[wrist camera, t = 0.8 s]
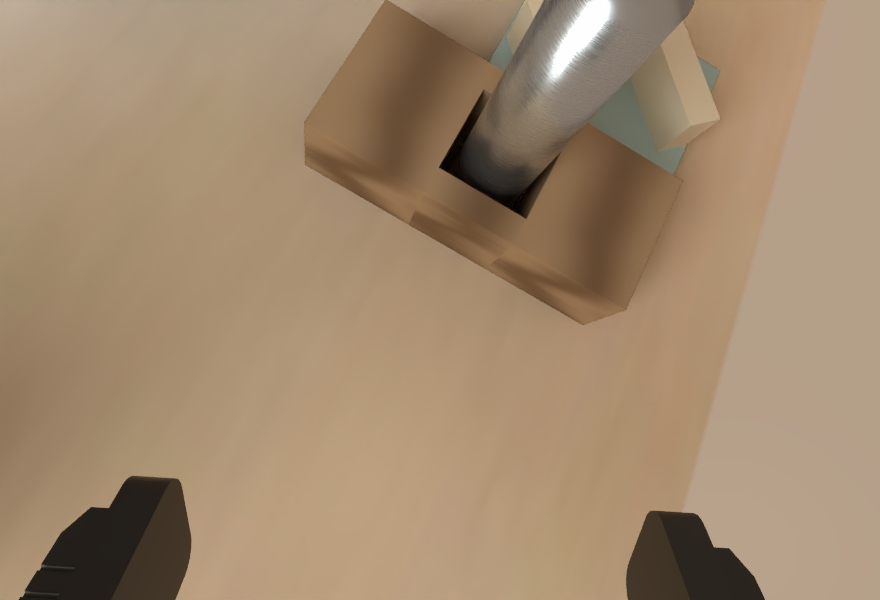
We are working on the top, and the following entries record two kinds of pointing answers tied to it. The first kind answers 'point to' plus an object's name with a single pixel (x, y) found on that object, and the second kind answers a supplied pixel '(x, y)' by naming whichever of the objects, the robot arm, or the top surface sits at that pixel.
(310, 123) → the wooden block with hole
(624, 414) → the top surface
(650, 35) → the axle
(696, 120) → the v block
